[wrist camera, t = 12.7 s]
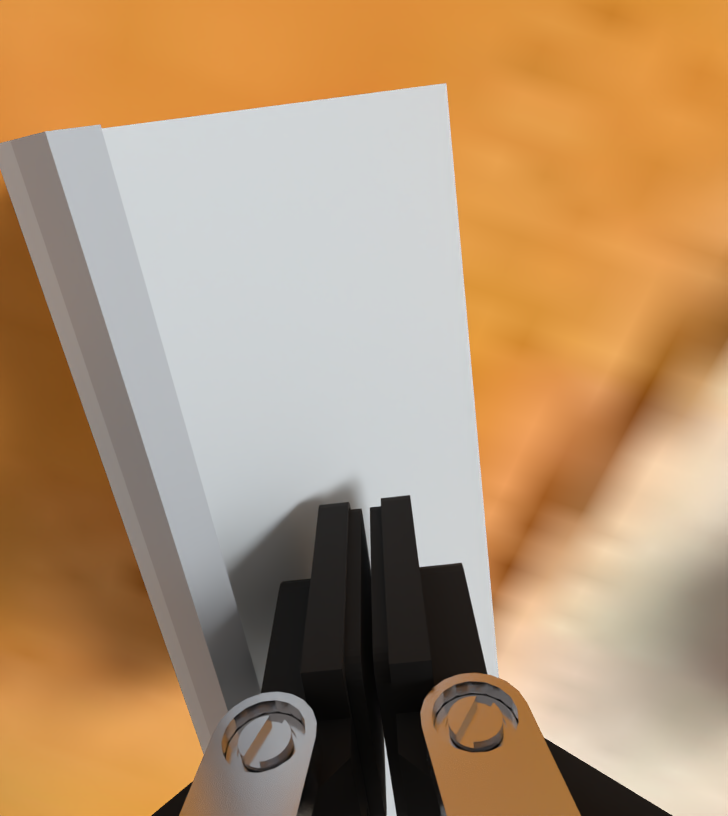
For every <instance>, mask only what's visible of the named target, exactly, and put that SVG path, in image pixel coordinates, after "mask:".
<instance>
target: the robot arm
mask: <svg viewBox="0 0 728 816" xmlns="http://www.w3.org/2000/svg"><path fill="white" fill-rule="evenodd" d="M370 545H371V567H370V560H369V553H368V547H367V540H366V533H365V526H364V520H363V513H362V509H361V508H360V509H351V507H350V503H349V502H342V503H333V504H323V505H319V508H318V517H317V526H316V535H315V544H314V553H313V562H312V571H311V578H310V579H300V580H291V581H282V583H281V584H280V587H279V592H278V597H277V603H276V609H275V614H274V620H273V626H272V632H271V637H270V643H269V649H268V654H267V660H266V666H265V671H264V677H263V683H262V688H261V694H259V695H256V696H253V697H250V698H247V699H245V700H244V701H242V702H241V703H239V704H237V705H236V706H234V707H233V708H232V709H231V710H230V711H229V712H228V713H227V714H226V715H225V716H224V717H223V718H222V719H221V720H220V722H219V723H218V725H217V727H216V729H215V730H214V732H213V734H212V737H211V739H210V741H209V744H208V746H207V749H206V751H205V754H204V756H203V759H202V761H201V763H200V766H199V768H198V771H197V773H196V776H195V778H194V780H193V782H191V783H190V784H189V785H188V786H187V787H185V788H184V789H183V790H182V791H181V792H179V793H178V794H177V795H176V796H175V797H173V798H172V799H171V800H170V801H168V802H167V803H166V804H165V805H164V806H162V807H161V808H160V809H159V810H158V811H156V812H155V813H154V814H153V815H152V816H387V802H386V774H385V746H384V739H385V745H386V751H387V758H388V764H389V770H390V777H391V783H392V790H393V796H394V802H395V809H396V815H397V816H672V815H670V814H669V813H667V812H665V811H664V810H662V809H661V808H659V807H657V806H656V805H654V804H652V803H651V802H649V801H647V800H646V799H644V798H642V797H641V796H639V795H638V794H636V793H634V792H633V791H631V790H629V789H628V788H626V787H624V786H623V785H621V784H619V783H618V782H616V781H614V780H613V779H611V778H610V777H608V776H606V775H605V774H603V773H601V772H600V771H598V770H596V769H595V768H593V767H591V766H590V765H588V764H587V763H585V762H583V761H582V760H580V759H578V758H577V757H575V756H573V755H572V754H570V753H568V752H567V751H565V750H563V749H562V748H560V747H559V746H557V745H555V744H554V743H552V742H550V741H549V740H547V739H545V738H544V737H543V735H542V733H541V731H540V729H539V727H538V725H537V723H536V721H535V719H534V716H533V714H532V712H531V710H530V708H529V706H528V704H527V702H526V701H525V699H524V698H523V697H522V695H521V694H520V692H519V691H518V690H517V689H516V688H514V687H513V686H512V685H510V684H509V683H508V682H506V681H504V680H502V679H500V678H497V677H495V676H492V675H488V674H487V670H486V665H485V661H484V656H483V652H482V647H481V643H480V639H479V634H478V630H477V625H476V621H475V617H474V612H473V608H472V603H471V599H470V594H469V590H468V586H467V581H466V577H465V572H464V568H463V565H462V563H454V564H444V565H434V566H425V567H419V560H418V553H417V545H416V537H415V529H414V521H413V514H412V506H411V498H410V495H405V496H396V497H387V498H381V506H378V507H370Z"/></svg>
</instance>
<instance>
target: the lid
mask: <svg viewBox="0 0 728 816" xmlns="http://www.w3.org/2000/svg"><path fill="white" fill-rule="evenodd" d="M0 170H1V172H2V175H3V178H4V181H5V184H6V187H7V190H8V193H9V195H10V198H11V201H12V204H13V207H14V210H15V213H16V216H17V218H18V221H19V224H20V227H21V230H22V233H23V236H24V239H25V241H26V244H27V247H28V250H29V253H30V256H31V259H32V262H33V264H34V267H35V270H36V273H37V276H38V279H39V282H40V285H41V287H42V290H43V293H44V296H45V299H46V302H47V305H48V308H49V310H50V313H51V316H52V319H53V322H54V325H55V328H56V331H57V333H58V336H59V339H60V342H61V345H62V348H63V351H64V354H65V357H66V359H67V362H68V365H69V368H70V371H71V374H72V377H73V380H74V382H75V385H76V388H77V391H78V394H79V397H80V400H81V403H82V405H83V408H84V411H85V414H86V417H87V420H88V423H89V426H90V428H91V431H92V434H93V437H94V440H95V443H96V446H97V449H98V451H99V454H100V457H101V460H102V463H103V466H104V469H105V472H106V474H107V477H108V480H109V483H110V486H111V489H112V492H113V495H114V497H115V500H116V503H117V506H118V509H119V512H120V515H121V518H122V520H123V523H124V526H125V529H126V532H127V535H128V538H129V541H130V543H131V546H132V549H133V552H134V555H135V558H136V561H137V564H138V567H139V569H140V572H141V575H142V578H143V581H144V584H145V587H146V590H147V592H148V595H149V598H150V601H151V604H152V607H153V610H154V613H155V615H156V618H157V621H158V624H159V627H160V630H161V633H162V636H163V638H164V641H165V644H166V647H167V650H168V653H169V656H170V659H171V661H172V664H173V667H174V670H175V673H176V676H177V679H178V682H179V684H180V687H181V690H182V693H183V696H184V699H185V702H186V705H187V707H188V710H189V713H190V716H191V719H192V722H193V725H194V728H195V730H196V733H197V736H198V739H199V742H200V745H201V748H202V751H203V754H205V751H206V749H207V746H208V744H209V741H210V739H211V737H212V734H213V732H214V730H215V729H216V727H217V725H218V723H219V722H220V720H221V719H222V718H223V717H224V716H225V715H226V714H227V713H228V712H229V711H230V710H231V709H232V708H233V707H234V706H236V705H237V704H239V703H241V702H242V701H244V700H245V699H247V698H250V697H253V696H256V695H259V694H261V688H262V683H263V677H264V671H265V666H266V660H267V654H268V649H269V643H270V637H271V632H272V626H273V620H274V614H275V609H276V603H277V597H278V592H279V587H280V584H281V583H282V581H291V580H300V579H310V578H311V571H312V562H313V553H314V544H315V535H316V526H317V517H318V508H319V505H323V504H333V503H342V502H349V503H350V507H351V509H360V508H361V509H362V513H363V520H364V526H365V533H366V540H367V547H368V553H369V560H370V567H371V545H370V507H378V506H381V498H387V497H396V496H405V495H410V498H411V506H412V514H413V521H414V529H415V537H416V545H417V553H418V560H419V567H425V566H434V565H444V564H454V563H462V565H463V568H464V572H465V577H466V581H467V586H468V590H469V594H470V599H471V603H472V608H473V612H474V617H475V621H476V625H477V630H478V634H479V639H480V643H481V647H482V652H483V656H484V661H485V665H486V670H487V674H488V675H492V676H495V677H497V678H499V675H498V663H497V652H496V641H495V629H494V618H493V607H492V595H491V584H490V573H489V561H488V550H487V539H486V527H485V516H484V505H483V493H482V482H481V471H480V459H479V448H478V437H477V425H476V414H475V403H474V391H473V380H472V369H471V358H470V346H469V335H468V324H467V312H466V301H465V290H464V278H463V267H462V256H461V244H460V233H459V222H458V210H457V199H456V188H455V176H454V165H453V154H452V142H451V131H450V120H449V108H448V97H447V86H446V83H445V84H437V85H429V86H422V87H414V88H407V89H399V90H391V91H384V92H376V93H369V94H361V95H353V96H346V97H338V98H331V99H323V100H315V101H308V102H300V103H293V104H285V105H277V106H270V107H262V108H255V109H247V110H239V111H232V112H224V113H217V114H209V115H201V116H194V117H186V118H178V119H171V120H163V121H156V122H148V123H140V124H133V125H125V126H118V127H110V128H102V129H101V125H94V126H86V127H78V128H70V129H62V130H54V131H47V132H42V133H38V134H34V135H30V136H26V137H22V138H19V139H15V140H11V141H7V142H3V143H0ZM384 746H385V774H386V802H387V816H397V815H396V809H395V802H394V796H393V790H392V783H391V777H390V770H389V764H388V758H387V751H386V745H385V739H384Z"/></svg>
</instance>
